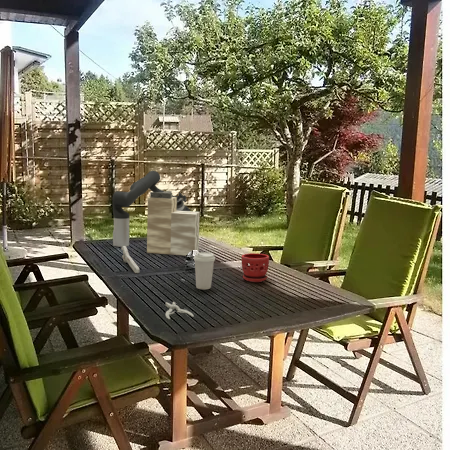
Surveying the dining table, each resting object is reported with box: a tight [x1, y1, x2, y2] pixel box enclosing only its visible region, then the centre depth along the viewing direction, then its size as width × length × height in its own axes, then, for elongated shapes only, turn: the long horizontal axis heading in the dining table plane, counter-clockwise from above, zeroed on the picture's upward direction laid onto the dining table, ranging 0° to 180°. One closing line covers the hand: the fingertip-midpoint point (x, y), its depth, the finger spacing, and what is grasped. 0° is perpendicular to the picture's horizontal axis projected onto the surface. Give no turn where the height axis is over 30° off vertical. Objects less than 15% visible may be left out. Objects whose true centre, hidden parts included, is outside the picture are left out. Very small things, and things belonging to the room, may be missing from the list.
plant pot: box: [241, 252, 270, 283], centre depth 222 cm, size 13×13×12 cm
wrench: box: [121, 246, 140, 274], centre depth 238 cm, size 8×2×30 cm
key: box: [149, 190, 173, 199], centre depth 276 cm, size 20×12×3 cm, turn 172°
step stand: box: [146, 196, 201, 256], centre depth 272 cm, size 12×28×32 cm, turn 82°
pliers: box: [165, 301, 195, 320], centre depth 176 cm, size 10×2×15 cm
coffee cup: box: [193, 252, 216, 290], centre depth 206 cm, size 10×10×15 cm
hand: (172, 193), depth 295 cm, fingers open, 8 cm apart
